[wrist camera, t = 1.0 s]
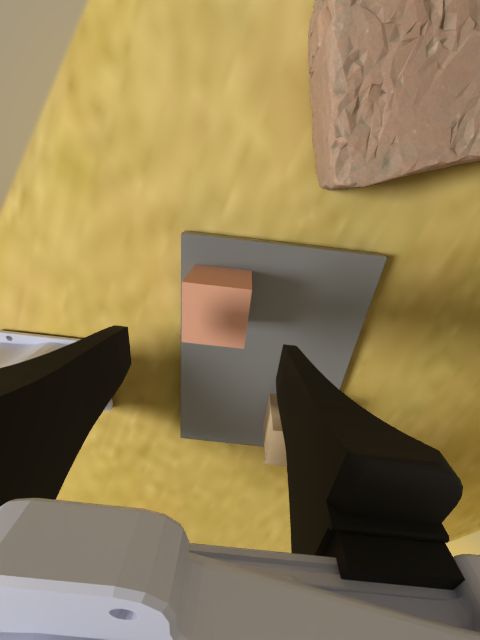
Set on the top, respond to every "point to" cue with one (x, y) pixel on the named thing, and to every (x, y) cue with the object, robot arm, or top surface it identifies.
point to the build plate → (272, 328)
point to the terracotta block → (216, 306)
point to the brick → (393, 88)
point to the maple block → (273, 434)
